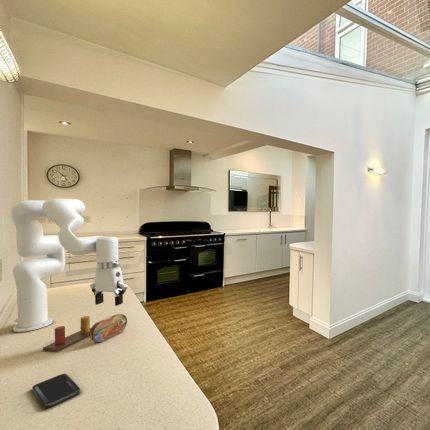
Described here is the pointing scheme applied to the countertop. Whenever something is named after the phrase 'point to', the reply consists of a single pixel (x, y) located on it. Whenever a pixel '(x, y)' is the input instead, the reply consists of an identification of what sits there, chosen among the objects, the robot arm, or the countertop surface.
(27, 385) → the countertop surface
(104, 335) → the tin
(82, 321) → the rod stand
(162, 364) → the countertop surface
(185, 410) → the countertop surface
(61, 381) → the phone
